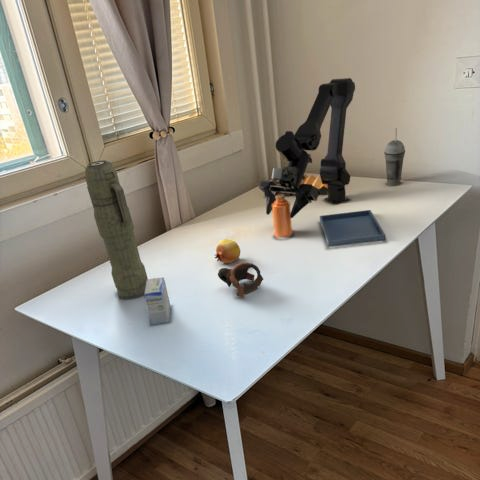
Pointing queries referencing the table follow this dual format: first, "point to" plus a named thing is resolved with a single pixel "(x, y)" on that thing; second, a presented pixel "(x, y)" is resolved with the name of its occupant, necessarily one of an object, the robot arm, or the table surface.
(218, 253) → the fruit
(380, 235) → the blue rectangular tray
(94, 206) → the thermos
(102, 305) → the table surface
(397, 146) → the beverage cup
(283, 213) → the orange bottle
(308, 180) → the pan flute
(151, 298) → the medicine box
